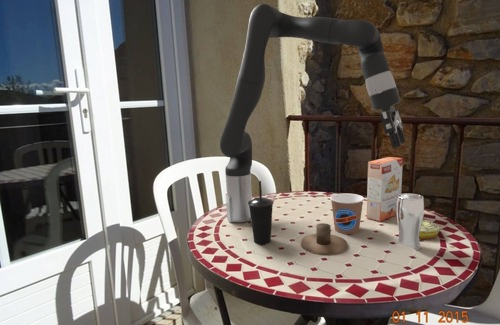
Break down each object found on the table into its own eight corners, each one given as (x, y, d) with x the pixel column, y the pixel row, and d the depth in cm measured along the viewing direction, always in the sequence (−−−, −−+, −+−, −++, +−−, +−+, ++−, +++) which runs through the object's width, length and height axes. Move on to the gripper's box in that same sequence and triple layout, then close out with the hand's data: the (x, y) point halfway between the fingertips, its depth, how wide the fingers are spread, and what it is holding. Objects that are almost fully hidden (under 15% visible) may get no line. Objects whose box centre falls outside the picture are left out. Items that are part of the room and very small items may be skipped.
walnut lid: (312, 258, 90) (311, 237, 89) (294, 240, 103) (293, 221, 102) (355, 251, 93) (356, 230, 92) (333, 234, 106) (333, 216, 105)
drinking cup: (257, 252, 98) (254, 185, 94) (245, 243, 105) (242, 180, 101) (279, 246, 101) (277, 181, 98) (267, 238, 108) (264, 177, 104)
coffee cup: (327, 237, 106) (327, 201, 104) (332, 226, 115) (332, 192, 113) (362, 241, 102) (362, 203, 100) (364, 229, 111) (365, 194, 109)
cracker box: (381, 222, 117) (382, 163, 113) (365, 218, 121) (366, 161, 118) (401, 213, 125) (403, 157, 121) (386, 209, 130) (387, 156, 126)
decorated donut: (444, 233, 106) (445, 222, 105) (431, 244, 99) (431, 231, 98) (410, 225, 113) (411, 214, 113) (395, 234, 106) (396, 223, 106)
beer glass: (425, 252, 93) (427, 200, 90) (398, 251, 94) (399, 199, 92) (418, 242, 99) (420, 193, 97) (393, 241, 101) (394, 193, 98)
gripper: (374, 95, 104) (390, 145, 104) (363, 96, 92) (381, 152, 93) (400, 85, 100) (416, 138, 100) (391, 85, 88) (410, 144, 88)
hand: (399, 144), depth 96 cm, fingers open, 8 cm apart
